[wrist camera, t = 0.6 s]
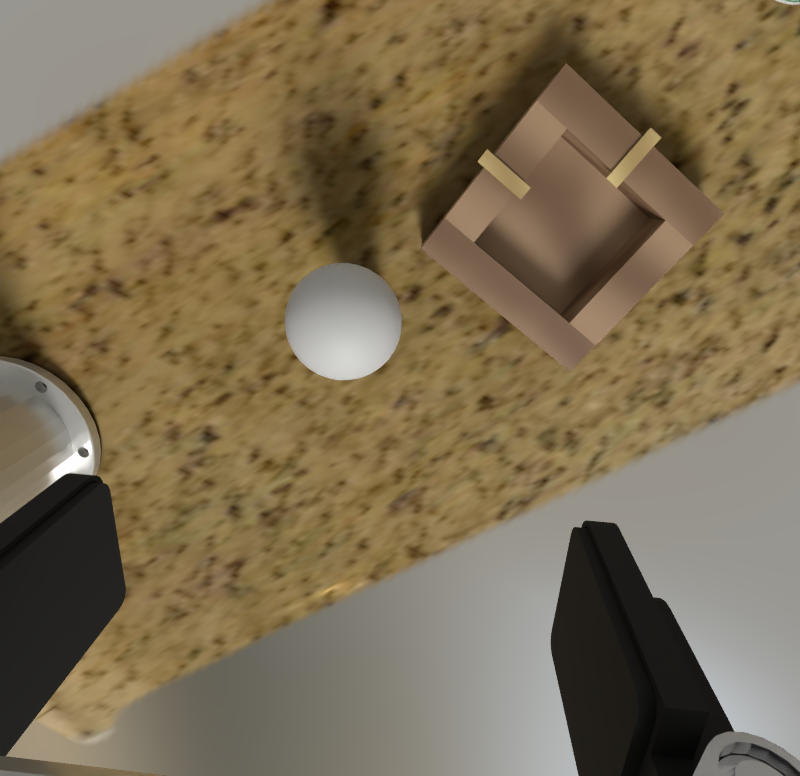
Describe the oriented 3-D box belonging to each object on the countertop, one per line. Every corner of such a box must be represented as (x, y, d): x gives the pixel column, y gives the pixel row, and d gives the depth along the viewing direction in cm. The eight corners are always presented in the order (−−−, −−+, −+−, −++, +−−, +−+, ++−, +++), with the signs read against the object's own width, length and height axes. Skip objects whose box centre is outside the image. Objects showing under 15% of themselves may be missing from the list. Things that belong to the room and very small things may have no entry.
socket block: (559, 357, 37) (570, 372, 34) (415, 238, 34) (413, 243, 32) (705, 204, 33) (732, 206, 30) (554, 60, 31) (566, 46, 28)
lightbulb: (353, 227, 34) (318, 244, 24) (427, 287, 36) (424, 328, 25) (299, 301, 36) (245, 345, 26) (371, 356, 37) (347, 420, 27)
